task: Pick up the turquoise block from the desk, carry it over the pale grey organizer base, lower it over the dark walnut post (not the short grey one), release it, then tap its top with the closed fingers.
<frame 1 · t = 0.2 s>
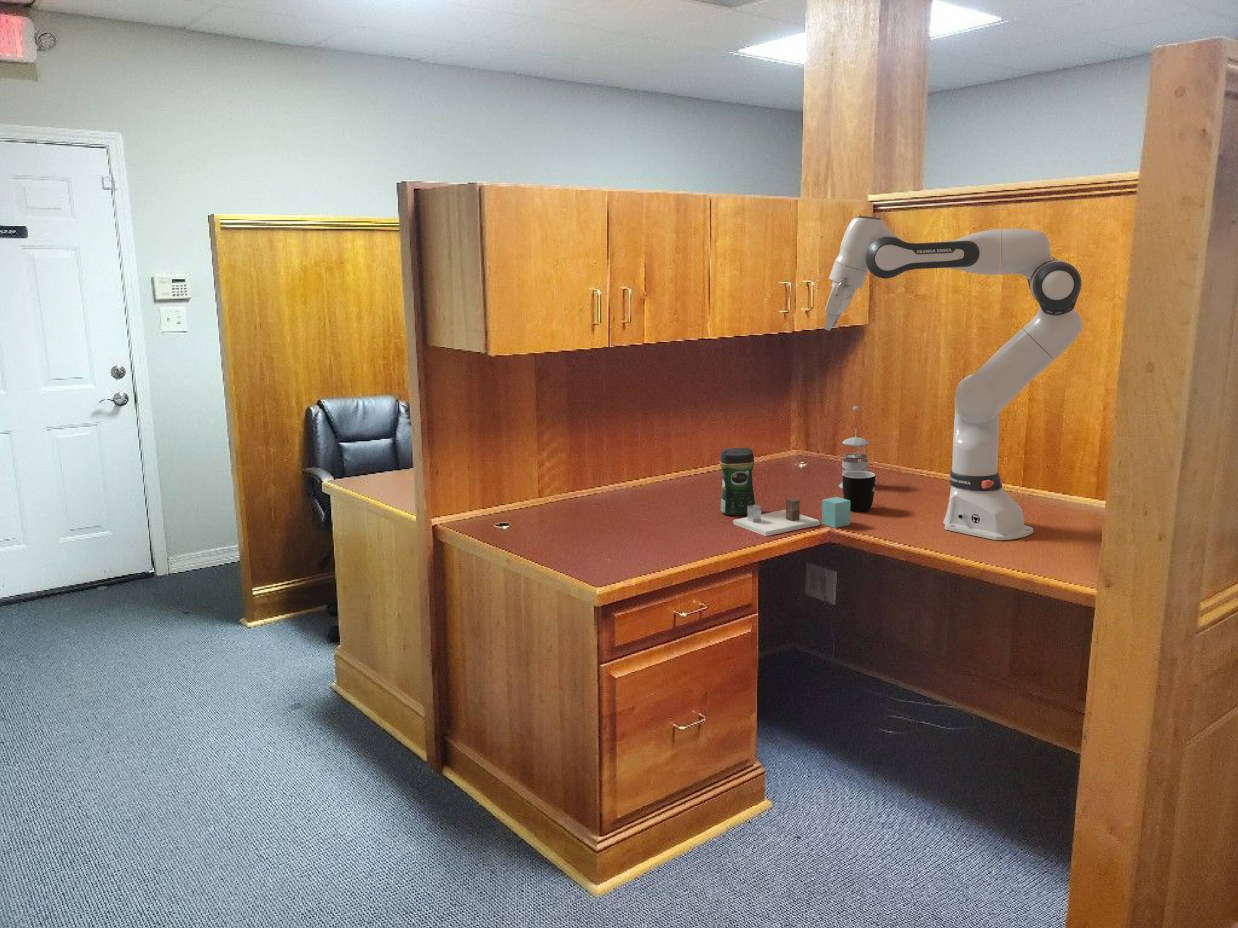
hand: (829, 328, 257), 51 cm above the table, tool tilted 20°, fingers open, 8 cm apart
turquoise block: (835, 524, 260), on the table
french press: (855, 486, 301), on the table
coffee jar: (737, 513, 274), on the table
post b: (754, 525, 261), resting on board
post: (792, 523, 261), resting on board
board: (776, 524, 261), on the table
mug: (857, 508, 275), on the table
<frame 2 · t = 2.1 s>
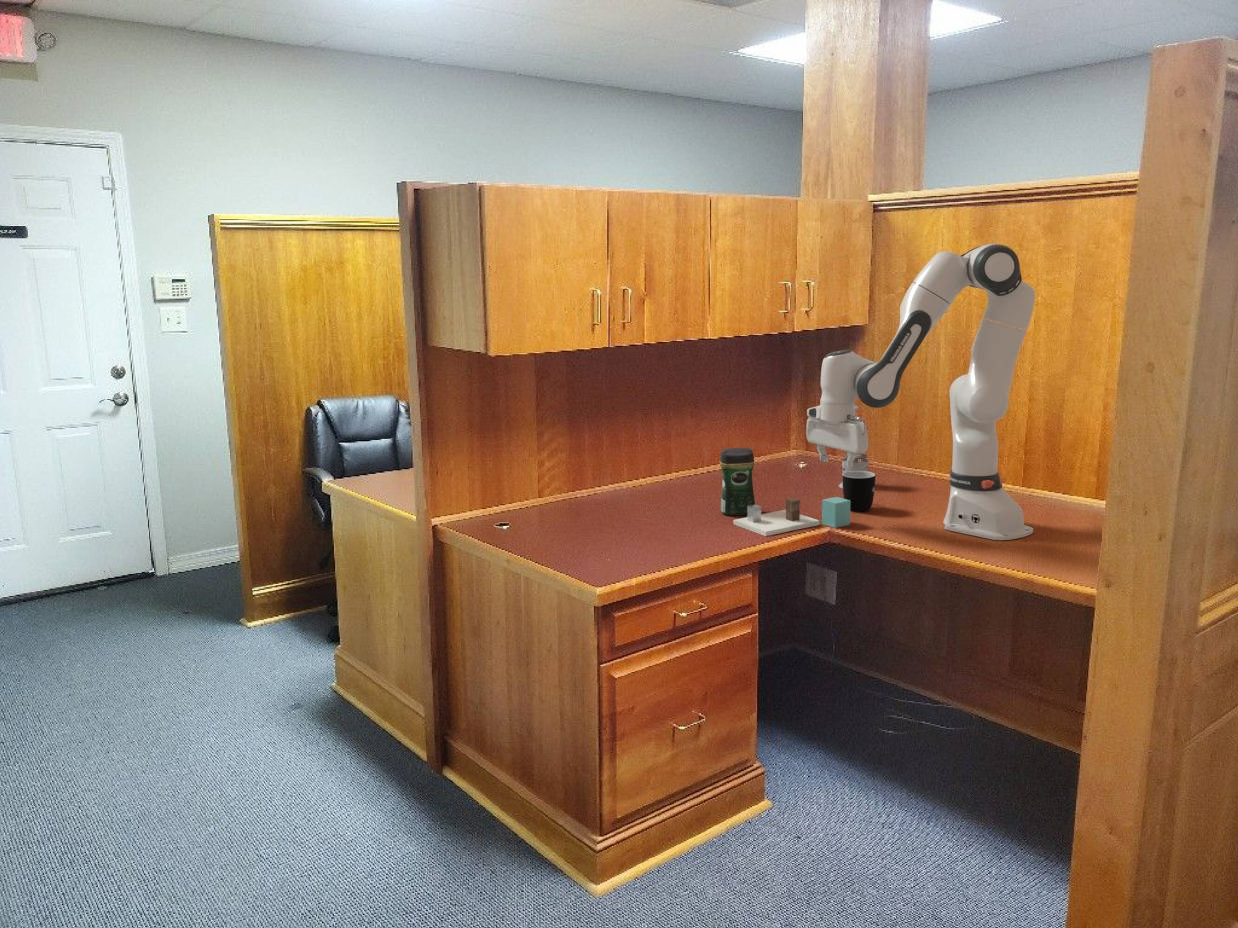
hand: (836, 464, 256), 16 cm above the table, tool pointing down, fingers open, 8 cm apart
nothing on the table moved.
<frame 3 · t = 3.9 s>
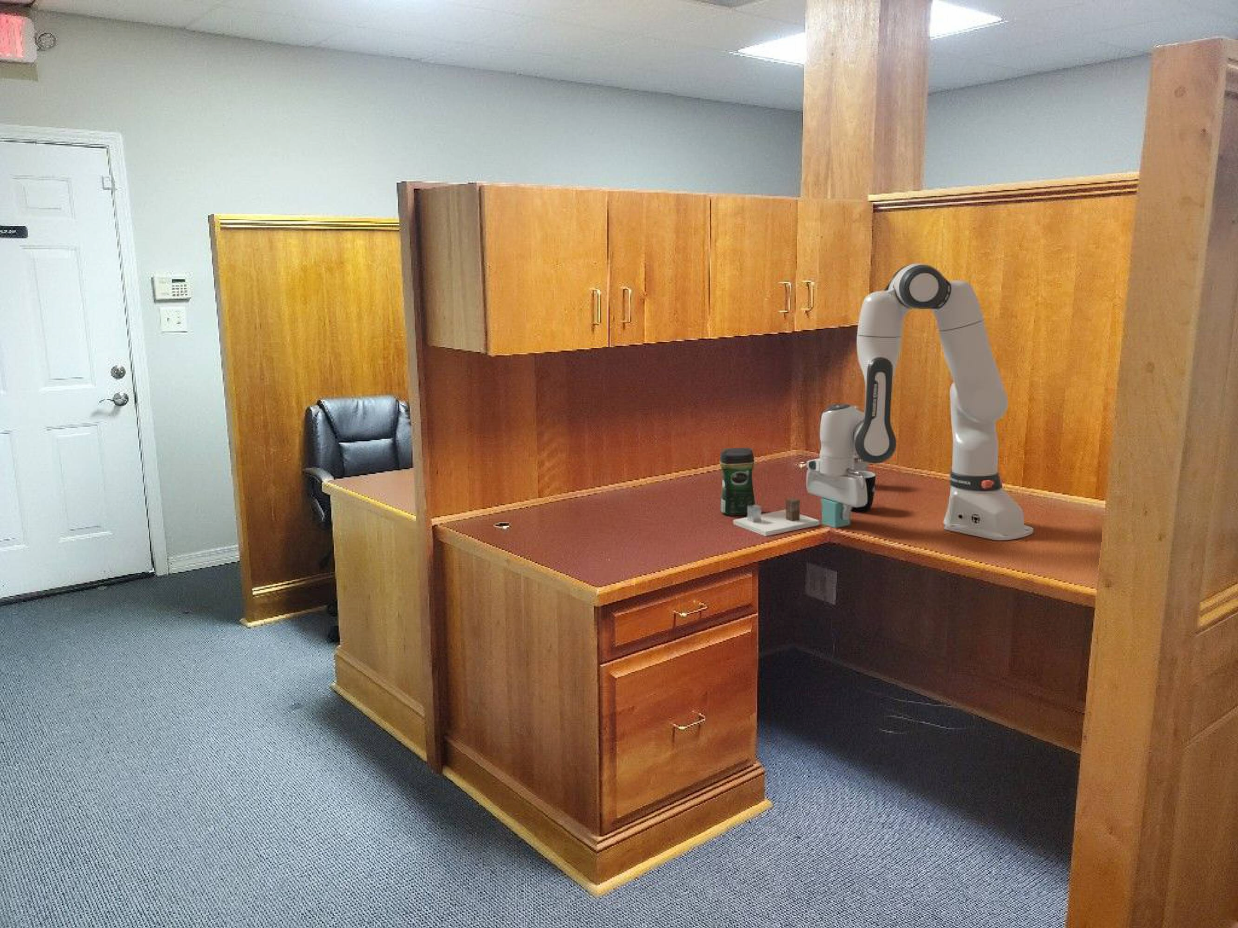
hand: (835, 516, 259), 2 cm above the table, tool pointing down, fingers closed on turquoise block, 5 cm apart
turquoise block: (835, 524, 260), on the table, touching gripper
everything else where it was.
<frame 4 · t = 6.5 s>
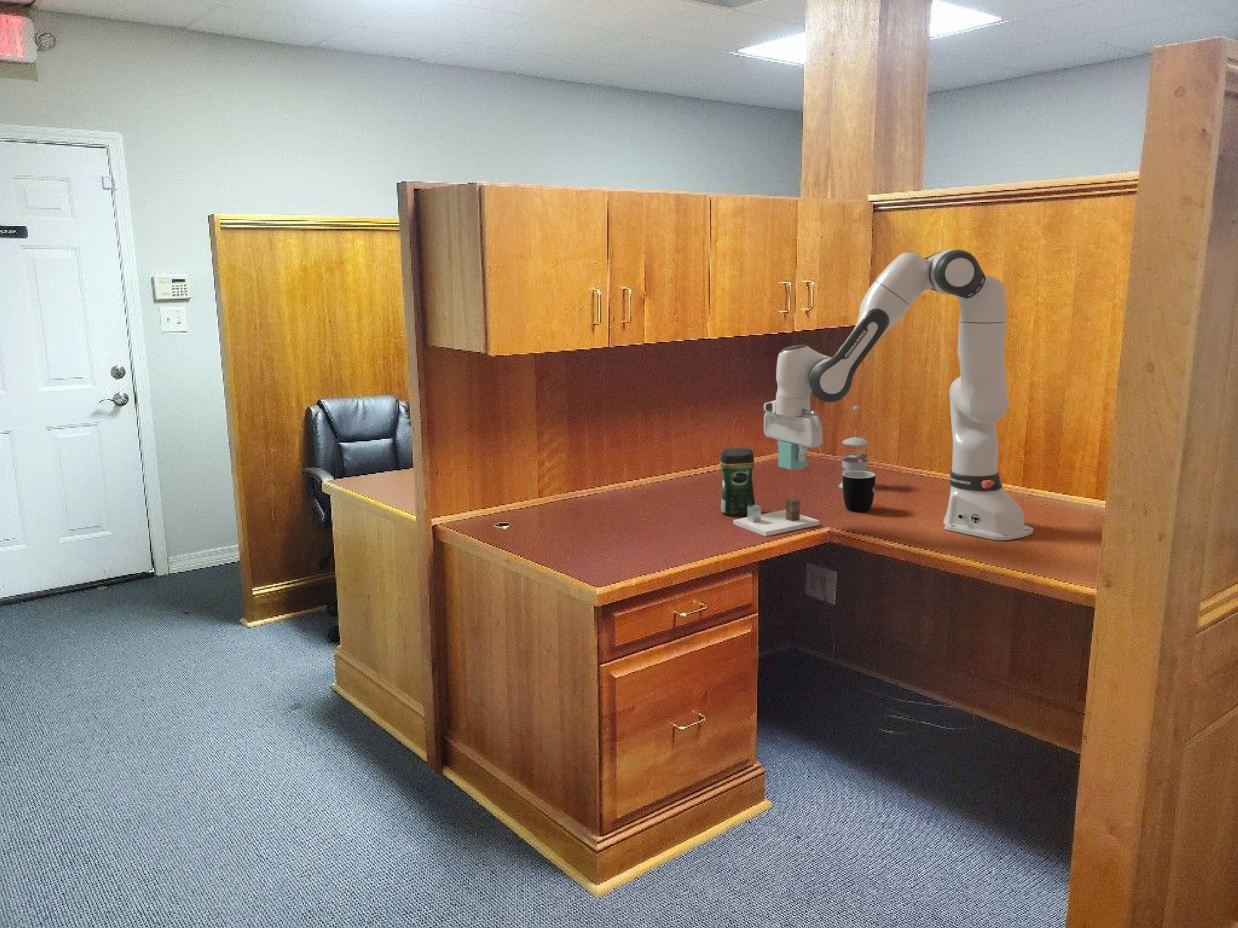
hand: (792, 458, 258), 18 cm above the table, tool pointing down, fingers closed on turquoise block, 5 cm apart
turquoise block: (792, 466, 258), point 16 cm above the table, touching gripper
everything else where it was.
when the fingers open (4 cm above the table, at t = 9.0 s): turquoise block stays where it is, resting on board.
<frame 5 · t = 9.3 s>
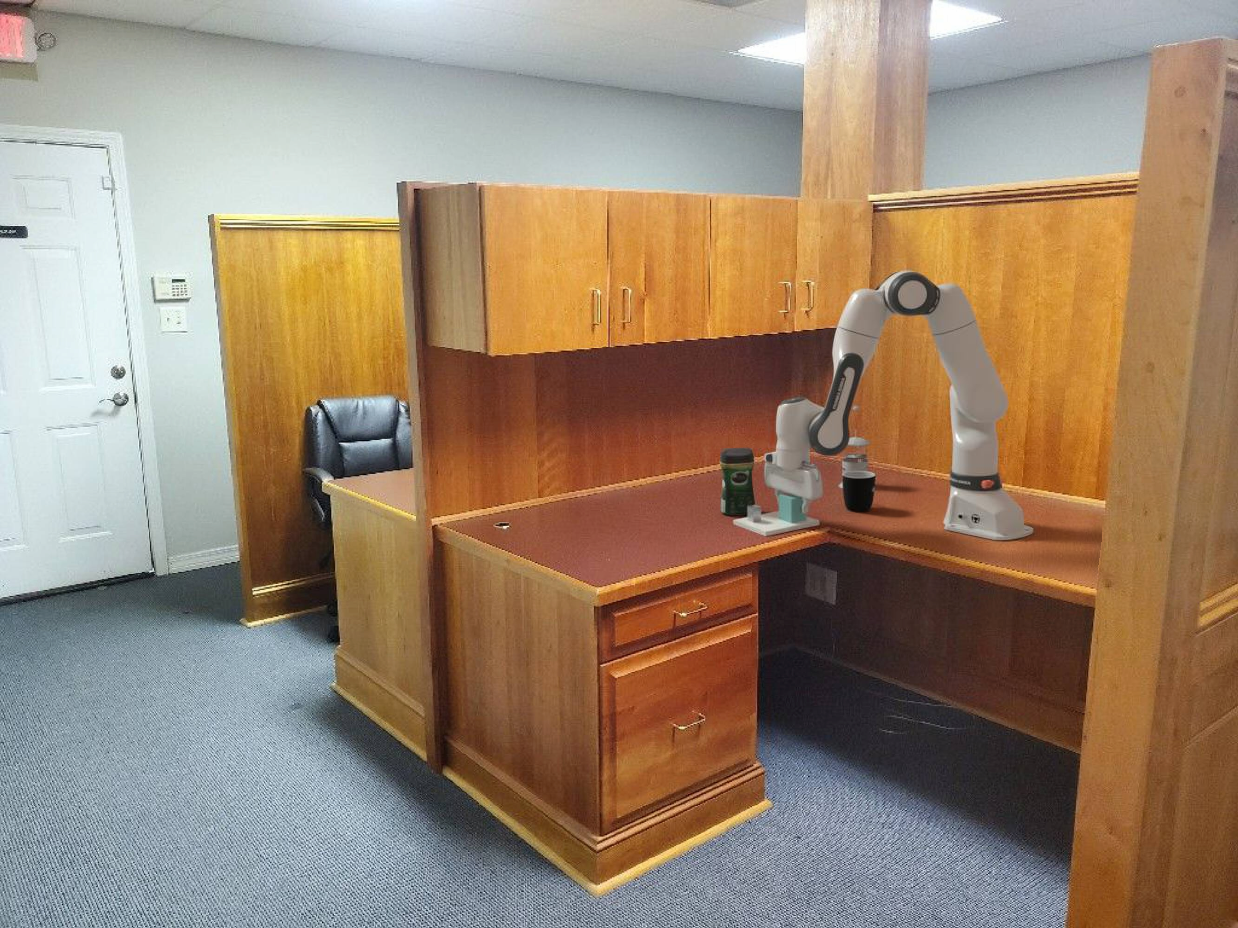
hand: (792, 509, 260), 4 cm above the table, tool pointing down, fingers open, 8 cm apart
turquoise block: (792, 519, 261), point 1 cm above the table, touching board
everything else where it was.
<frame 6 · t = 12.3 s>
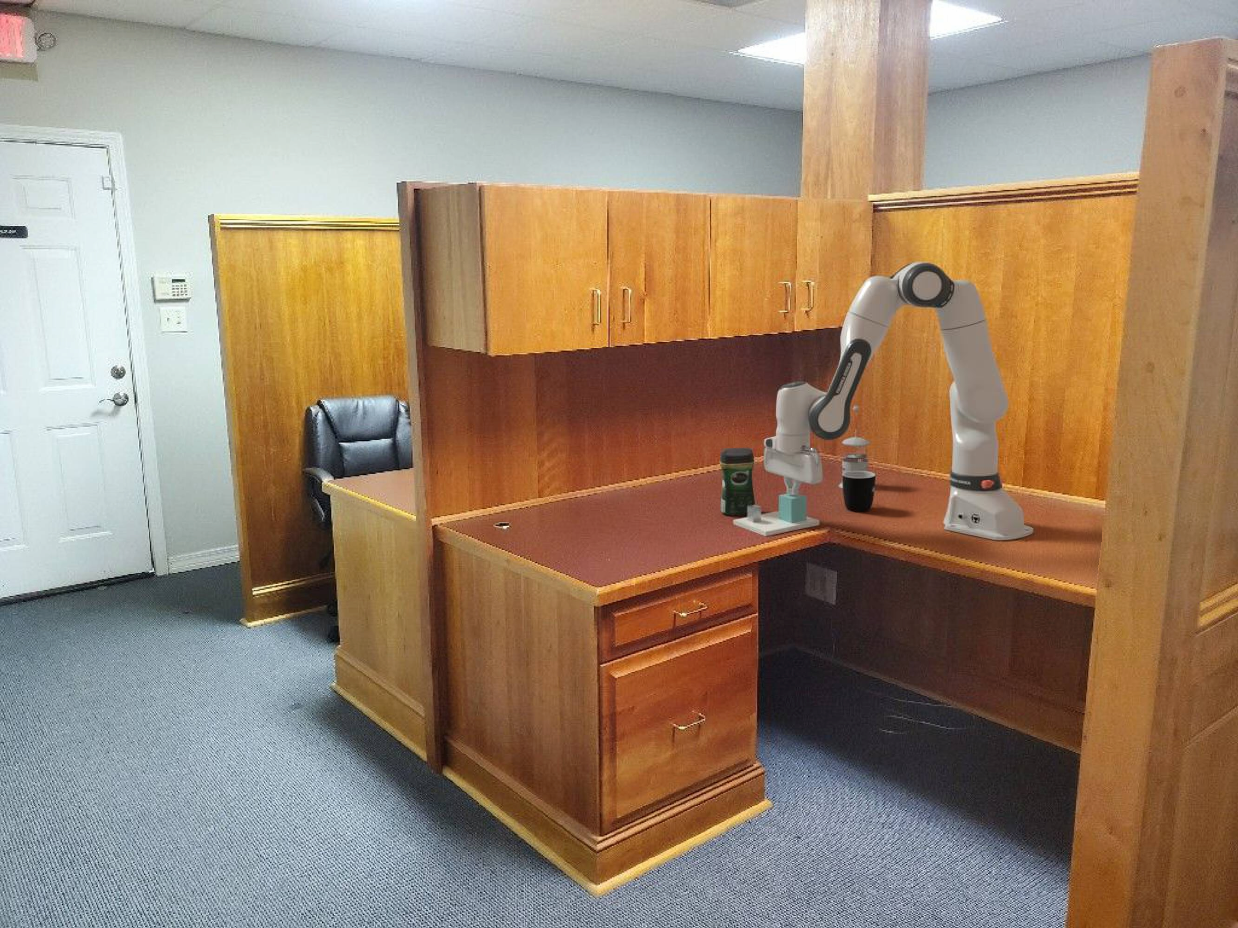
hand: (792, 494, 260), 8 cm above the table, tool pointing down, fingers closed
nothing on the table moved.
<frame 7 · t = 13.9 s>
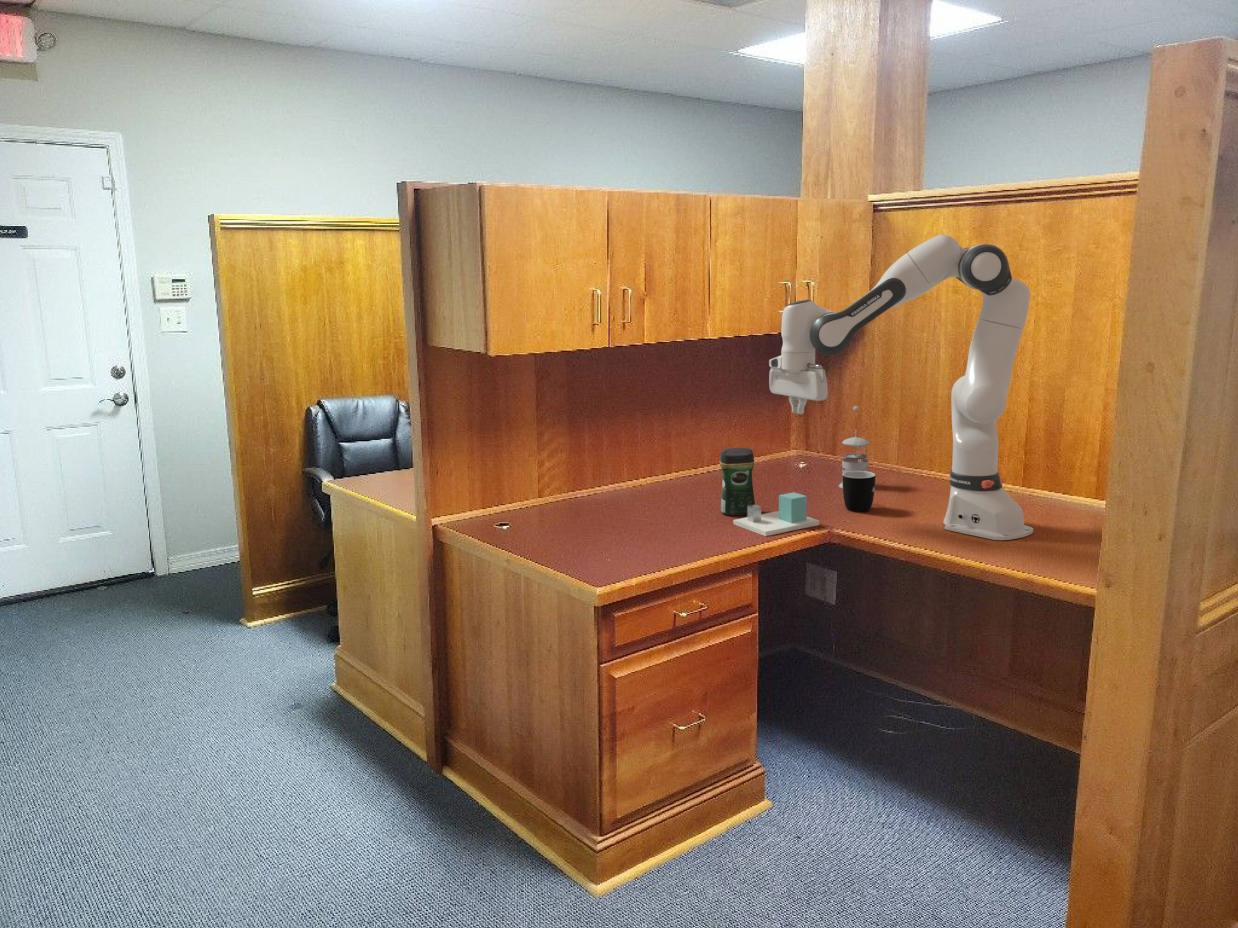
hand: (797, 413, 261), 29 cm above the table, tool pointing down, fingers closed
nothing on the table moved.
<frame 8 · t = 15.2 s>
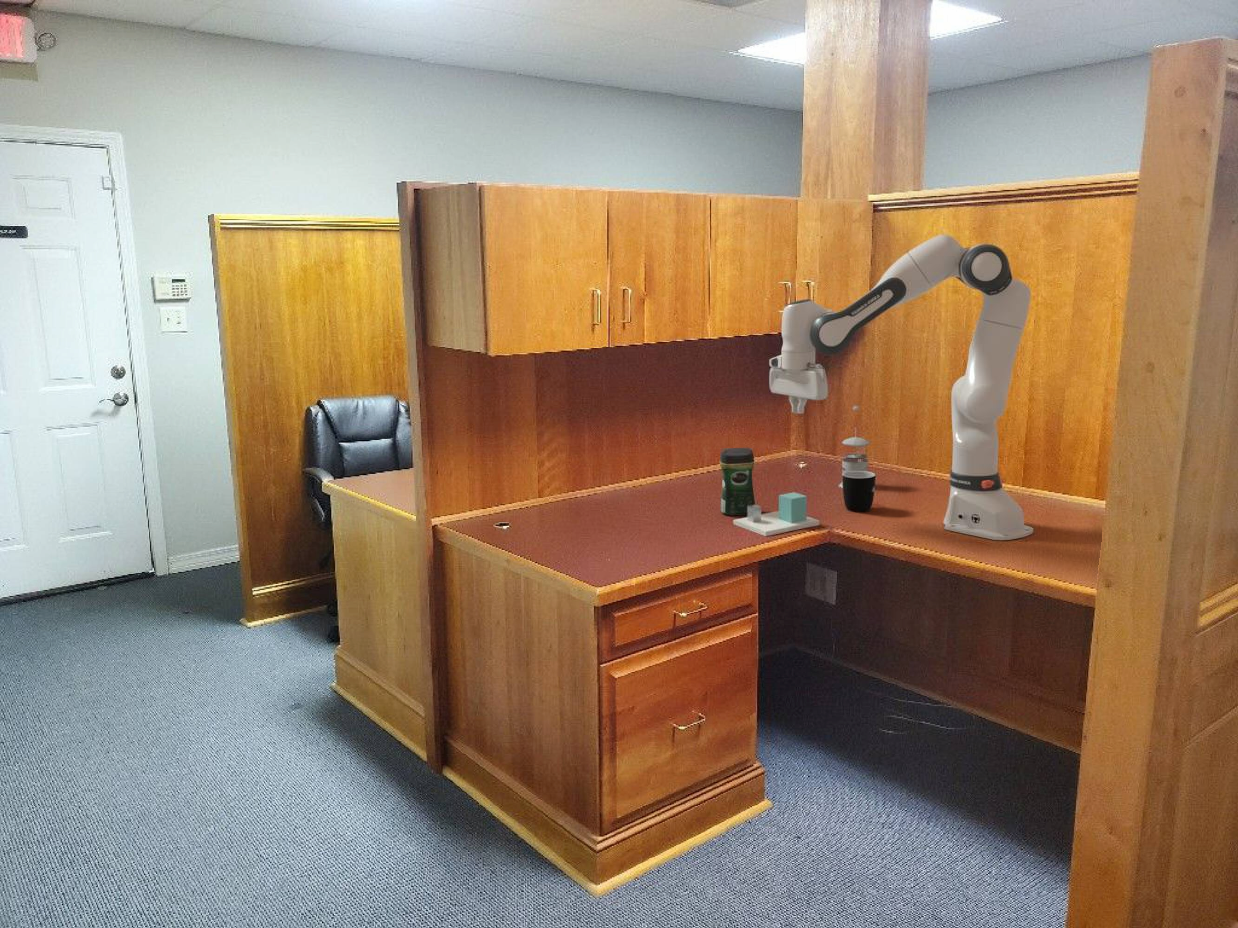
hand: (797, 413, 261), 29 cm above the table, tool pointing down, fingers closed
nothing on the table moved.
at the end: turquoise block 0.0 cm from the post (horizontally); turquoise block point 1.2 cm above the table; turquoise block tilted 0° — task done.
